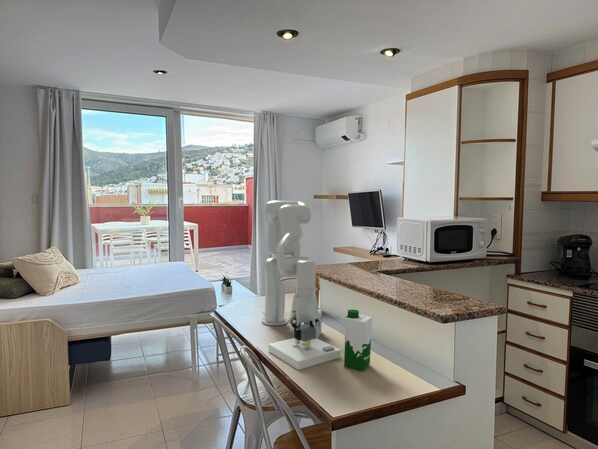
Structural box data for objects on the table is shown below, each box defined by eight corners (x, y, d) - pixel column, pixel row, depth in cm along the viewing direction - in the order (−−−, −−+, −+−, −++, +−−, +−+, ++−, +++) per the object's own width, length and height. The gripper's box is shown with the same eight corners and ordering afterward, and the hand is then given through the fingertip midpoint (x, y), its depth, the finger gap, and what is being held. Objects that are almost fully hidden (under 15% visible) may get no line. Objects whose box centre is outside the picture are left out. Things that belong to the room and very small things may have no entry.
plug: (293, 342, 153) (293, 326, 153) (305, 340, 156) (306, 324, 156) (303, 348, 148) (303, 331, 147) (315, 344, 151) (316, 328, 151)
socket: (268, 351, 155) (268, 341, 155) (308, 341, 167) (308, 332, 166) (298, 369, 139) (298, 359, 138) (340, 357, 151) (340, 347, 150)
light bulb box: (318, 340, 168) (318, 315, 168) (302, 339, 170) (303, 314, 169) (321, 332, 179) (322, 309, 178) (307, 331, 180) (307, 307, 179)
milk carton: (350, 358, 149) (352, 307, 148) (373, 364, 145) (375, 311, 143) (340, 367, 142) (342, 312, 141) (363, 373, 137) (365, 317, 136)
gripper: (316, 287, 159) (315, 331, 160) (281, 292, 149) (280, 339, 150) (328, 291, 153) (327, 336, 154) (292, 296, 143) (291, 345, 144)
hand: (304, 337), depth 152 cm, fingers closed on plug, 6 cm apart
